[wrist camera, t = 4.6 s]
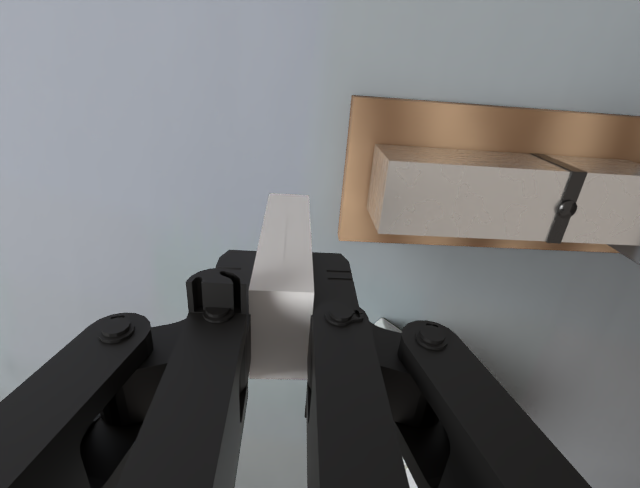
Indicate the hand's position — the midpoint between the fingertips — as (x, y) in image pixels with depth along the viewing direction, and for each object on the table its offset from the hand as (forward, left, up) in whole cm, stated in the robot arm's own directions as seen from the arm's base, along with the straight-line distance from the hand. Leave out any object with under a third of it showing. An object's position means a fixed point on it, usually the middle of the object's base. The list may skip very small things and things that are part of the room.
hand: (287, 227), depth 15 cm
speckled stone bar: (+13, 0, -9) cm, 16 cm away
